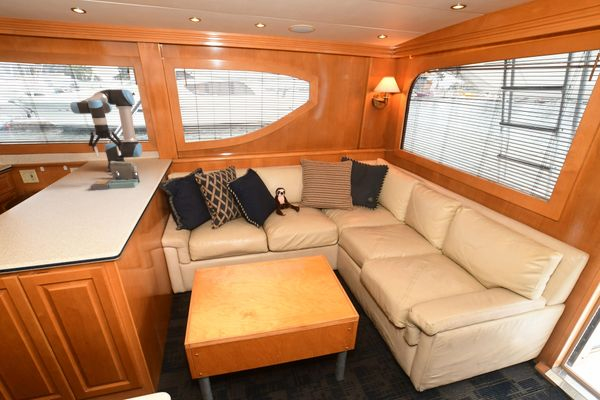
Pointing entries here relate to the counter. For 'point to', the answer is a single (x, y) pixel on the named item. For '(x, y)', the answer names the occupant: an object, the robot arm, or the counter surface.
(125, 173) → the geiger counter
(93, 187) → the grey square tray
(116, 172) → the cell
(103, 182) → the orange square tile
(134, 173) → the cell
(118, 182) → the trough
